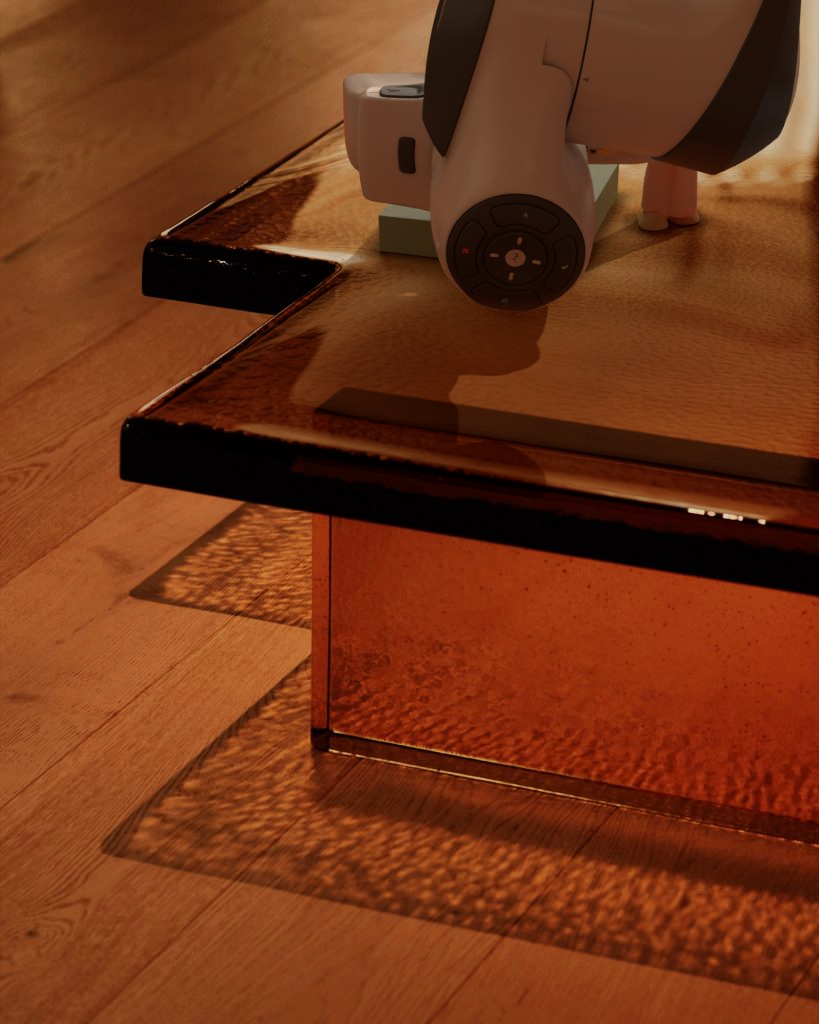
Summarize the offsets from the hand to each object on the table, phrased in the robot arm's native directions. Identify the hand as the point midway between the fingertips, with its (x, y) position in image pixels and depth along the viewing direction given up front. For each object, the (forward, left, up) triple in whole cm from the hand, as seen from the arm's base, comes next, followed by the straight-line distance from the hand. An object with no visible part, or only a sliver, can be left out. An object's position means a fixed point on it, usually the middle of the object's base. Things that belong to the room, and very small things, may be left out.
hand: (503, 75), depth 105 cm
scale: (0, +1, -10) cm, 10 cm away
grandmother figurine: (-11, -3, -10) cm, 15 cm away
